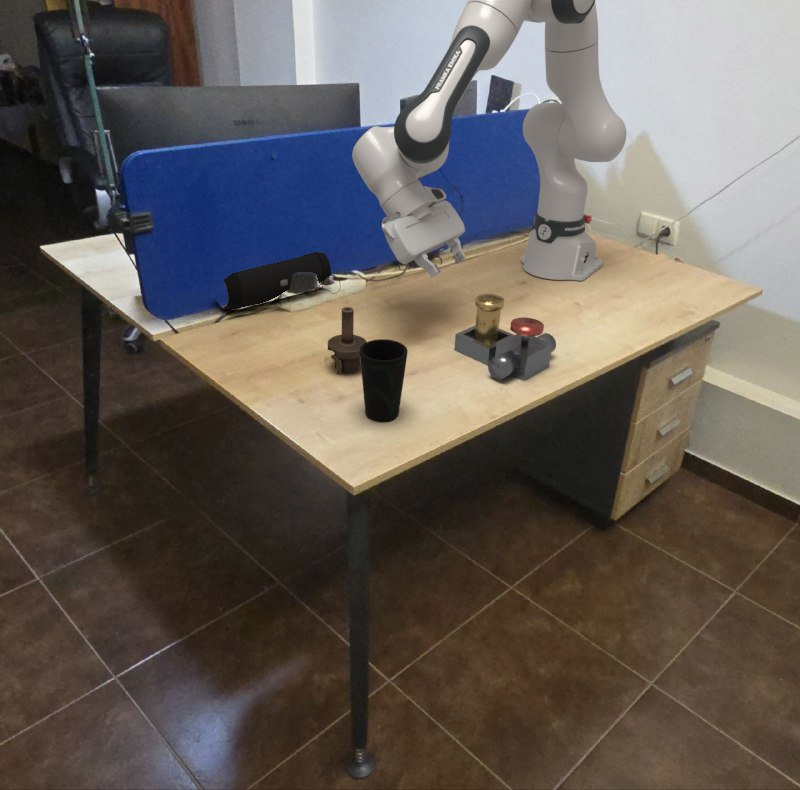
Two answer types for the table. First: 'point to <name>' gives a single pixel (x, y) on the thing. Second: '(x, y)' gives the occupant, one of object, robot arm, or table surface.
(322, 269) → the portable speaker
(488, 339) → the pipe stub
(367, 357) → the cup
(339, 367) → the industrial component
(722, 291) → the table surface
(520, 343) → the valve body
